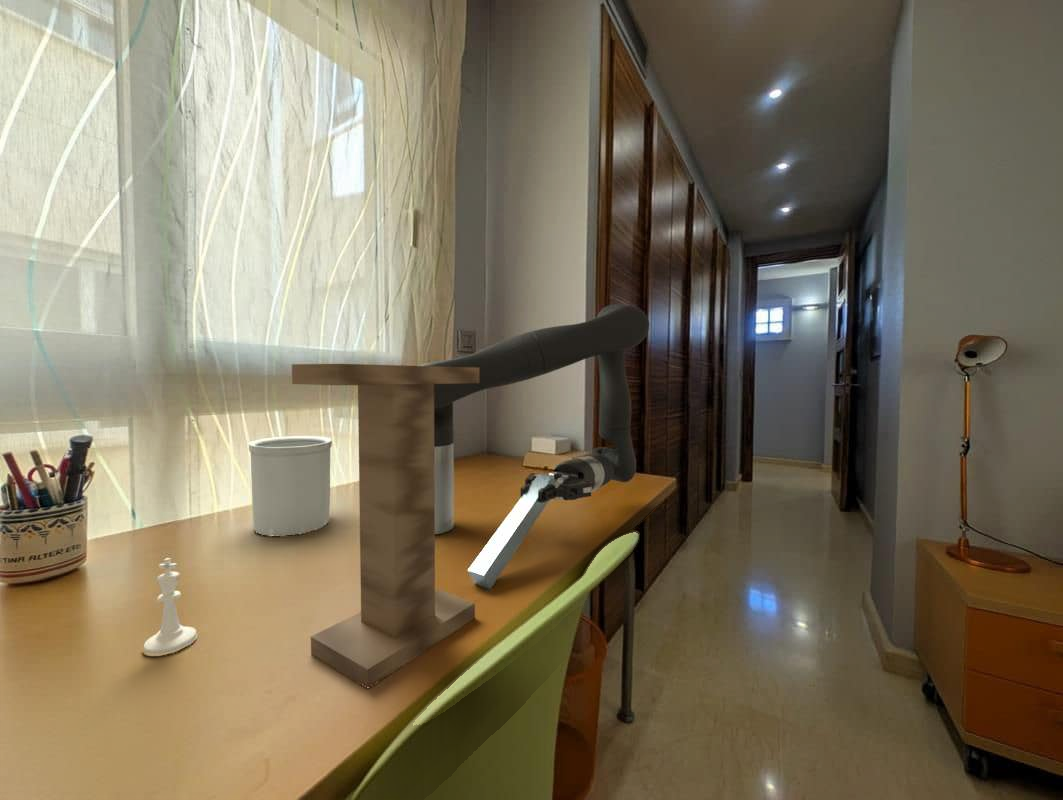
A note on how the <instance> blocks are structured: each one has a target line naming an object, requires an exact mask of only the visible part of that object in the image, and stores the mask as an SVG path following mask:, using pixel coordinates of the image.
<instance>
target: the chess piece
mask: <svg viewBox="0 0 1063 800" xmlns="http://www.w3.org/2000/svg"><path fill="white" fill-rule="evenodd" d="M177 567H178V563H177V562H173V563H172V557H167V558H164V561H163V563H160V564H158V570H162V569H163V570H164V573H162V574H160V575H158V577H157V579H156V581H157V583H158V584H159V587H160V589H161V591H162V593H161V594H159V595H158V596H157V598H156V600H157V602H158V603H159V602H160V603H163V608H162V609H163V611H162V619H161V627H160V630H159V631H158V632H157V633H156V634H154V635H152V636H150V637H149V638H148V639H147V640H146V641H145V642H144V643H143V649H144V650H145V652H146V653H148V654H153V655H154V654H155V655H156V654H157V655H158V654H165V653H169V652H173V651H175V650H177V649H181V648H183V647H186V646H188V645H189V644H191V643H192V642H194V640H195V639H196V638H197V639H198V634H197V632H198V631H197V629H196V628H195V627H192V626H183V625H182V624H180V621H179V617H178V613H177V612H178V611H177V606H176V599H178V598H180V597H181V596H182V593H181V591H179V590H176V587H177V584H178V581H179V578H180V572H177V571H172V570H173V569H177ZM197 639H196V640H197ZM194 643H195V642H194Z"/></svg>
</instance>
